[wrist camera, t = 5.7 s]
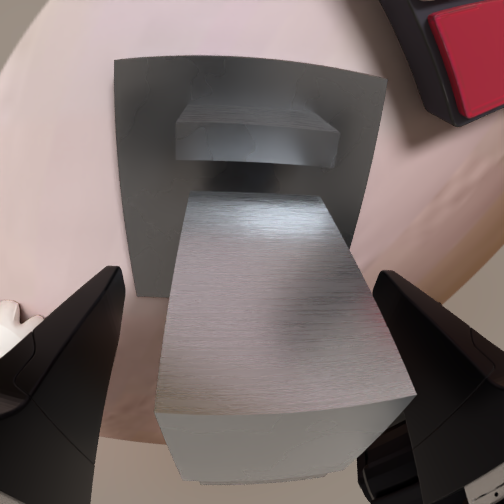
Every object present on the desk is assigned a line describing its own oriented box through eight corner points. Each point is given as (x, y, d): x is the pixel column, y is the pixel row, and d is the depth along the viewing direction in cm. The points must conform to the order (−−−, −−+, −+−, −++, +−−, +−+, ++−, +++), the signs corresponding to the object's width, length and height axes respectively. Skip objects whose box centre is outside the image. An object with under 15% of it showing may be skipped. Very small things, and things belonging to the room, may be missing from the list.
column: (297, 299, 13) (338, 474, 7) (193, 298, 12) (184, 483, 6) (319, 196, 10) (416, 395, 4) (190, 190, 10) (154, 412, 4)
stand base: (329, 284, 19) (354, 354, 15) (141, 281, 18) (122, 355, 14) (376, 76, 12) (443, 97, 8) (123, 58, 11) (69, 68, 7)
